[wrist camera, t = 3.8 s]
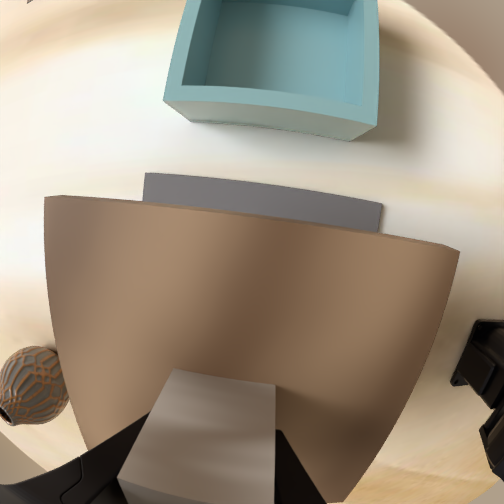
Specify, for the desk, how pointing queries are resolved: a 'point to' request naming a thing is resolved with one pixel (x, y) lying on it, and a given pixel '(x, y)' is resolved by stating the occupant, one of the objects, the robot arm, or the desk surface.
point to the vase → (32, 387)
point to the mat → (262, 200)
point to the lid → (236, 341)
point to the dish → (278, 65)
